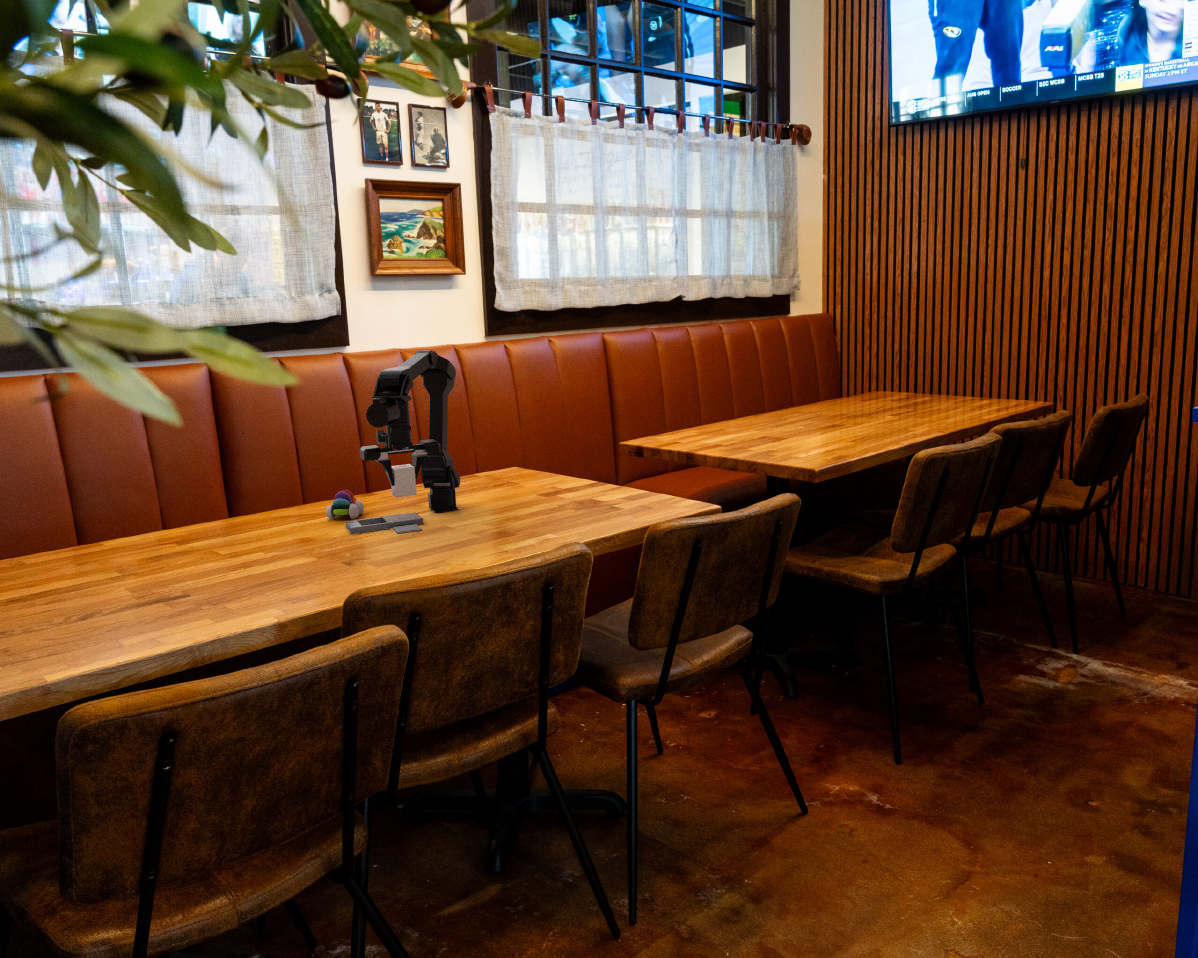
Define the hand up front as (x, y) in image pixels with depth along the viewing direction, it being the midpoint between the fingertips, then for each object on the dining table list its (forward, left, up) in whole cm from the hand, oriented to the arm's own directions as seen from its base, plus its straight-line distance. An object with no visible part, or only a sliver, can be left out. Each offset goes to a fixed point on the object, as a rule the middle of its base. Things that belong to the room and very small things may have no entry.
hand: (403, 484), depth 242 cm
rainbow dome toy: (+11, -24, -12) cm, 29 cm away
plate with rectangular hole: (+4, -7, -11) cm, 14 cm away
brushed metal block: (0, 0, -3) cm, 3 cm away
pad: (0, 0, -11) cm, 11 cm away
